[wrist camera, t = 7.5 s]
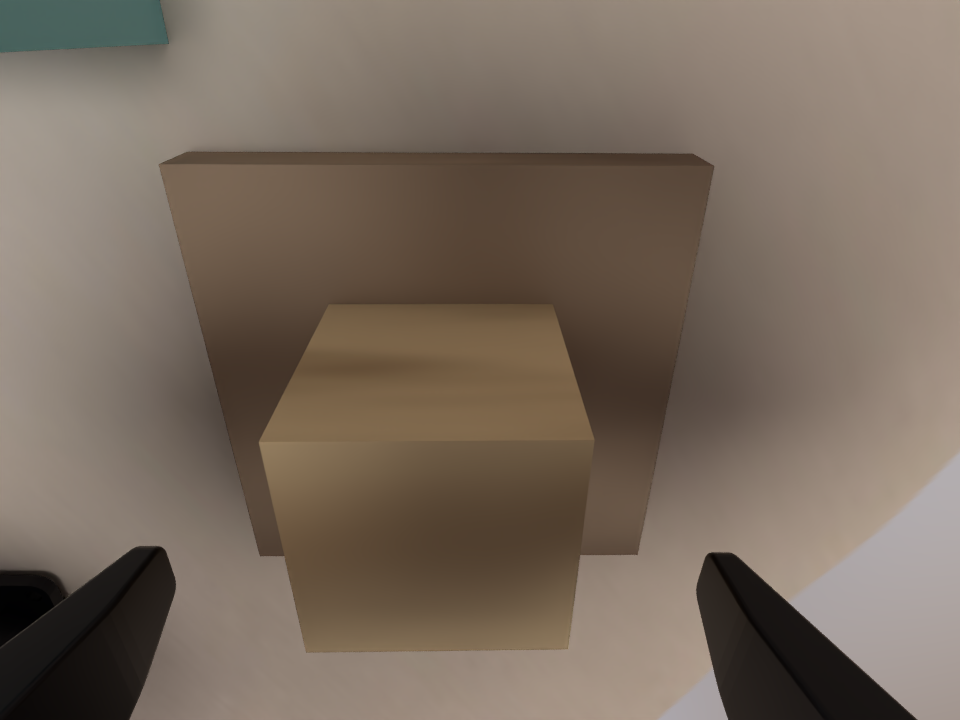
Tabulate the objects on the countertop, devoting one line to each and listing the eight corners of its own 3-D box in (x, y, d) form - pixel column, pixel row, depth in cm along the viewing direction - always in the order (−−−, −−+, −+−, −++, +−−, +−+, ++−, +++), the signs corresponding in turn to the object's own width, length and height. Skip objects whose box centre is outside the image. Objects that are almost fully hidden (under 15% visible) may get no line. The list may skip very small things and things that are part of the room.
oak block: (540, 475, 16) (568, 649, 11) (351, 477, 15) (305, 652, 11) (552, 303, 13) (594, 440, 9) (329, 304, 13) (258, 442, 9)
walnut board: (622, 506, 19) (637, 554, 17) (280, 507, 19) (260, 555, 17) (683, 147, 13) (714, 166, 12) (200, 146, 13) (158, 164, 12)
